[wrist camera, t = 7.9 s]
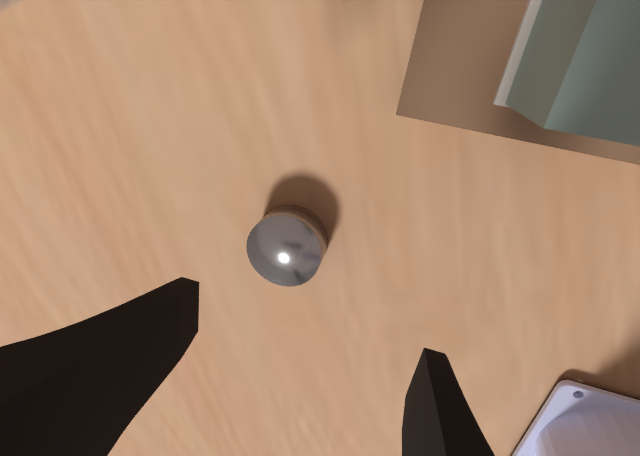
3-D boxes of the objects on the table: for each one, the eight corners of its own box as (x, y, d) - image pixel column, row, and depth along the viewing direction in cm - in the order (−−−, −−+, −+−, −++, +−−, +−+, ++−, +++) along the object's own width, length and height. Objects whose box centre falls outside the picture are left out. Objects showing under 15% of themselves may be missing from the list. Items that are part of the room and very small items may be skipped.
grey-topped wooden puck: (333, 213, 20) (325, 229, 19) (322, 275, 22) (313, 294, 20) (263, 196, 21) (249, 209, 19) (258, 258, 23) (244, 275, 21)
